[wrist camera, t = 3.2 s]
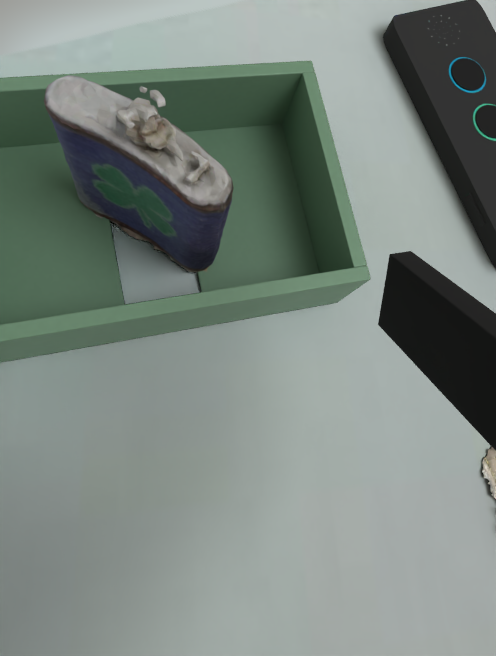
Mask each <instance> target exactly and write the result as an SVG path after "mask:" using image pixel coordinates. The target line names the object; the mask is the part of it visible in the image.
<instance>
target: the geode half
mask: <svg viewBox="0 0 496 656" xmlns="http://www.w3.org/2000/svg"><path fill="white" fill-rule="evenodd" d="M487 454H488V455H487V456H486V457H484V460H483V464H484V465H483V467H484V469H483V470H482V473H483V474H484V478H487V479H488V480H489V481H490V482H488V484H490V486H491V487H490V489H491V492H492V496H494V498H495V499H496V450H495V449H494V448H493V447H492V448H491V449H488V452H487Z"/></svg>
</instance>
